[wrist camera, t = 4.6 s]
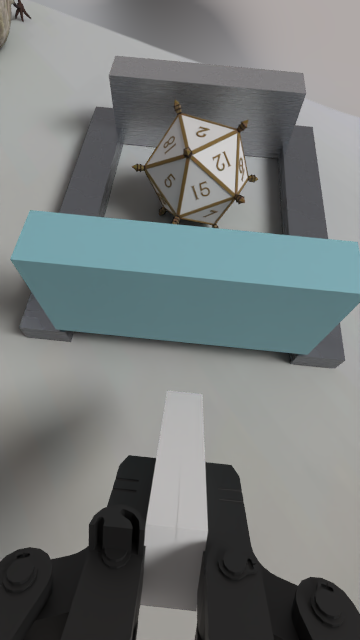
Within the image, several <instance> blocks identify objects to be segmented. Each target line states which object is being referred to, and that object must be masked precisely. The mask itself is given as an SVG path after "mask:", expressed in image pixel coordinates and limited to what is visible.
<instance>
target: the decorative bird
mask: <svg viewBox="0 0 360 640" xmlns="http://www.w3.org/2000/svg"><path fill="white" fill-rule="evenodd" d="M11 4H13V5H14V6H15V7H16V8H17V10H16V14H15V18H17V15H18V13H19V12H20V15H21V19H22V21H23V12H24V14H25V15H26V16H27V17H29V18H30V19H31V17H30V16H29V15H28V14H27V12H26V11H25V9H24V7H23V4H22V3H21V1H20V0H18V3H17V5H16V3H15V2H14V0H0V48H1V47H2V46H3V45H4V43H5V42H6V40H7V37H8V34H9V30H10V24H11ZM23 22H24V21H23Z"/></svg>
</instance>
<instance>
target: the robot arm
mask: <svg viewBox="0 0 360 640" xmlns="http://www.w3.org/2000/svg"><path fill="white" fill-rule="evenodd" d="M140 605H146V606H155V607H164V608H173V609H182V610H190V611H196V609H197V628H196V635H195V640H360V614H359V612H358V610H357V609H356V607H355V605H354V604H353V602H352V601H351V600H350V599H349V597H348V596H347V595H346V594H345V592H344V591H343V590H341V589H340V588H339V587H337V586H336V585H335V584H334V583H332V582H330V581H327V580H325V579H323V578H315V577H310V578H307V579H305V580H302V581H301V583H300V584H299V586H297V585H295V584H293V583H290V582H288V581H286V580H284V579H281V578H279V577H277V576H275V575H274V574H272V573H270V572H269V571H268V570H267V569H265V568H264V567H263V566H262V565H261V564H260V562H259V561H258V560H257V558H256V557H255V555H254V553H253V550H252V547H251V543H250V537H249V531H248V525H247V519H246V513H245V507H244V503H243V496H242V492H241V484H240V478H239V476H238V474H237V473H236V471H235V470H234V468H233V467H232V465H226V464H216V463H207V462H205V445H204V420H203V395H202V394H198V393H188V392H178V391H168V390H167V395H166V401H165V408H164V414H163V420H162V426H161V432H160V439H159V445H158V451H157V457H156V458H149V457H140V456H130V455H129V456H128V457H127V458H126V459H125V460H124V461H123V462H122V463H121V464H120V466H119V469H118V472H117V476H116V480H115V482H114V486H113V490H112V492H111V495H110V499H109V502H108V505H107V507H106V508H103V509H102V510H100V511H99V512H98V513H97V514H96V515H94V517H93V519H92V520H91V522H90V524H89V546H88V547H87V548H86V549H84V550H82V551H80V552H78V553H76V554H73V555H70V556H65V557H61V558H56V559H51V560H50V557H49V555H48V554H47V553H45V552H44V551H42V550H41V549H37V548H31V547H29V548H24V549H19V550H17V551H15V552H13V553H11V554H9V555H7V556H6V557H5V558H4V559H2V560H1V561H0V640H136V636H137V627H138V615H139V608H140Z"/></svg>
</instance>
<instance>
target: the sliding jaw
mask: <svg viewBox="0 0 360 640" xmlns="http://www.w3.org/2000/svg"><path fill="white" fill-rule="evenodd" d="M10 260H11V261H12V263H13V264H14V266H15V267H16V269H17V270H18V272H19V273H20V275H21V276H22V278H23V280H24V281H25V283H26V284H27V286H28V287H29V289H30V290H31V292H32V293H33V295H34V296H35V298H36V299H37V301H38V302H39V304H40V306H41V307H42V309H43V310H44V312H45V313H46V315H47V316H48V318H49V319H50V321H51V322H52V324H53V325H54V327H55V329H57V330H67V331H77V332H87V333H97V334H106V335H116V336H126V337H136V338H146V339H156V340H166V341H176V342H186V343H196V344H206V345H216V346H226V347H235V348H245V349H255V350H265V351H275V352H285V353H295V354H305V355H308V354H309V353H310V352H311V351H312V350H313V349H314V348H315V347H316V346H317V345H318V344H319V343H320V342H321V341H322V340H323V339H324V338H325V337H326V336H327V335H328V334H329V333H330V332H331V331H332V330H333V329H334V328H335V327H336V326H337V325H338V324H339V323H340V322H341V321H342V320H343V319H344V318H345V317H346V316H347V315H348V314H349V313H350V312H351V311H352V310H353V309H354V308H355V307H356V306H357V305H358V304H359V303H360V252H359V247H358V242H352V241H342V240H331V239H321V238H311V237H301V236H290V235H280V234H270V233H259V232H249V231H239V230H229V229H218V228H208V227H198V226H187V225H177V224H167V223H157V222H146V221H136V220H126V219H115V218H105V217H95V216H85V215H74V214H64V213H54V212H43V211H33V210H30V212H29V214H28V217H27V219H26V222H25V224H24V227H23V229H22V231H21V234H20V236H19V239H18V241H17V244H16V246H15V249H14V251H13V254H12V256H11V259H10Z"/></svg>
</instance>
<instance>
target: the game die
mask: <svg viewBox="0 0 360 640" xmlns="http://www.w3.org/2000/svg"><path fill="white" fill-rule="evenodd" d="M173 108H174V109H175V110H174V111H176V113H177V116H176V118H175V119H174V121H173V122H172V124H171V125H170V127H169V129H168V130H167V132H166V133H165V135H164V136H163V138H162V139H161V141H160V142H159V144H158V146H157V147H156V149H155V150H154V152H153V153H152V155H151V156H150V158H149V159H148V161H147V163H146V164H145V166H143V165H141V164H140V165H139V164H136V165H134V166H132V167H133V168H134V169H135V170H136V171H137V172H138V171H140V172H141V171H145V173H146V175H147V177H148V178H149V180H150V182H151V184H152V186H153V188H154V190H155V192H156V194H157V195H158V197H159V199H160V201H161V203H162V205H163V208H161V209H159V215H164V214H165V212H166V210H167V211H168V212H170V213H171V214H172V215H174V216H175V218H174V219H173V220H172V222H171V223H172V224H177V225H179V223H180V221H179V219H183V220H188V221H194V222H199V223H204V224H210V225H212V228H218V226H217V225H216V223H217V222H218V221H219V219H220V218H221V217H222V216H223V214H224V213H225V212H226V211H227V209H228V208H229V207H230V206H231V204H232V203H233V202H234V201H235V200H236V202H238V203H239V204H240V203H245V200H244V197H243V196H241V195H239V193H240V192H241V190H242V189H243V187H244V186H245V184H246V182H247V181H249V182H255V181H256V180H258V178H257V177H256V176H255V175H251V176H248V172H247V167H246V161H245V156H244V151H243V146H242V140H241V135H240V132H241V131H244V129H245V128H247V124H248V120H246V121H242V122H241V124H239V125H238V128H233V127H230V126H226V125H223V124H219V123H216V122H212V121H209V120H205V119H201V118H198V117H194V116H191V115H187V114H184V113H182V112H181V108H182V107H181V104H180V103H179V102H178V101H176V100H175V101H174V107H173ZM218 229H219V228H218Z"/></svg>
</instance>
